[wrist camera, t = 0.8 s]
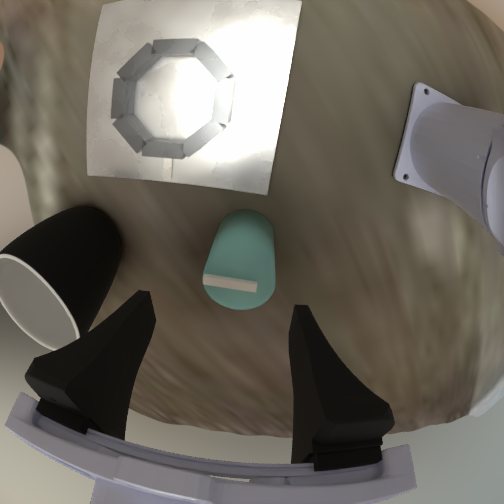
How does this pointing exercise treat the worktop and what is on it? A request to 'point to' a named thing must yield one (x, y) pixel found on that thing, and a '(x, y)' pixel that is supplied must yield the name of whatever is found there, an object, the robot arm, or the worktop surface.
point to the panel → (190, 90)
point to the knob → (241, 261)
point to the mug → (60, 275)
